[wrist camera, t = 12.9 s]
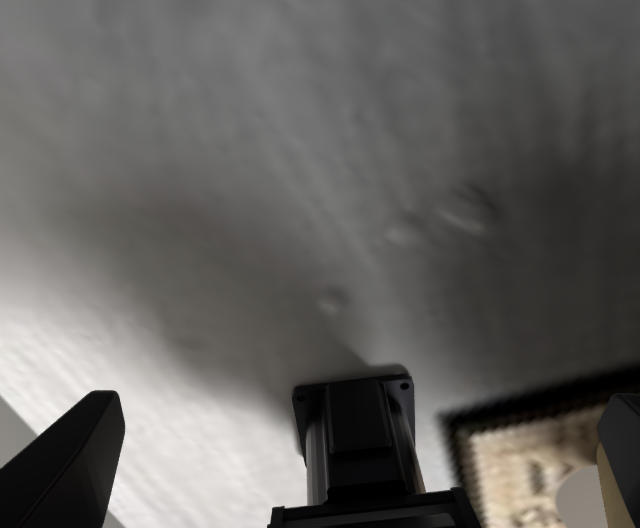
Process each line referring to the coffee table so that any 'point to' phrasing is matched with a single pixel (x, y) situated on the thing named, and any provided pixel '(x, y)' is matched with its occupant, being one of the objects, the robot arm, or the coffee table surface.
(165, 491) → the coffee table surface
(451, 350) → the coffee table surface
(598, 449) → the plant pot
